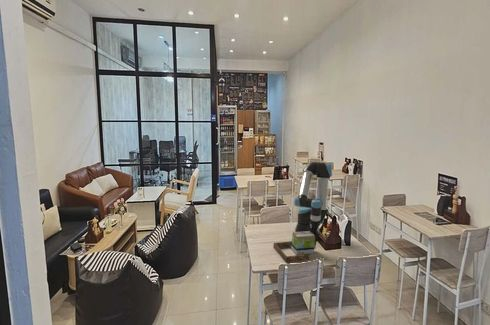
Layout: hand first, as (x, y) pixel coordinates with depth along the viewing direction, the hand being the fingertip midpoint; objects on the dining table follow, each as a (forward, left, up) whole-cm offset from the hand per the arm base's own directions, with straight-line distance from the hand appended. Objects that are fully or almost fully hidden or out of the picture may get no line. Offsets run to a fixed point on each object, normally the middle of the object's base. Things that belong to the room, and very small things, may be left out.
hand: (313, 248), depth 226 cm
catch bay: (+19, 0, -2) cm, 19 cm away
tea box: (+9, -1, -2) cm, 9 cm away
